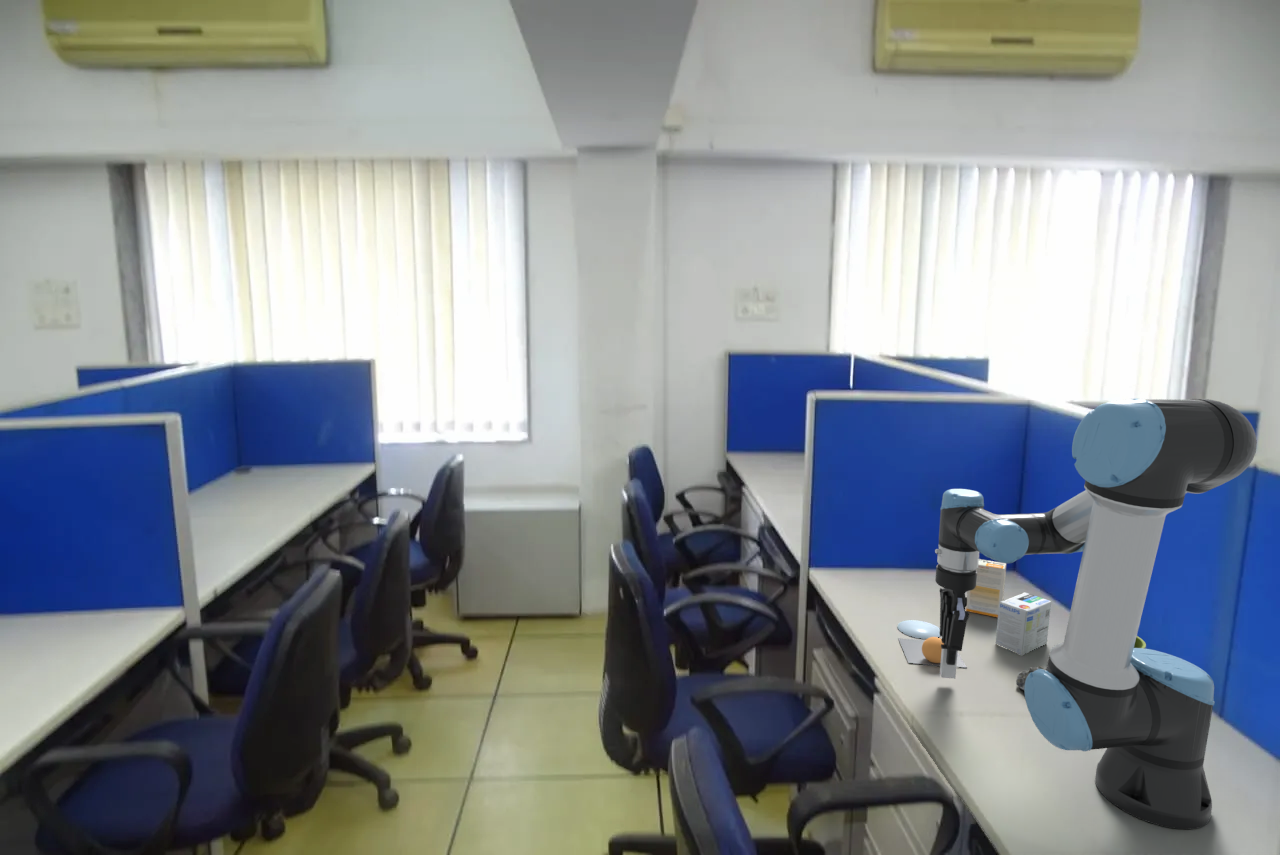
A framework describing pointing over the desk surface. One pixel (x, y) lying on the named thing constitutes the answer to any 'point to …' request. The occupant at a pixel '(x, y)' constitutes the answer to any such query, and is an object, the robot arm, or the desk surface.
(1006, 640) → the light bulb box
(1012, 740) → the desk surface
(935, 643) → the ball
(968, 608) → the supplement box
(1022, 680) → the fossilized seashell
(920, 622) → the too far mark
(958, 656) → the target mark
